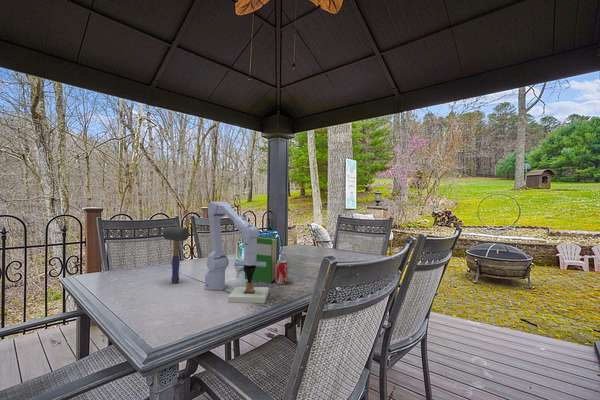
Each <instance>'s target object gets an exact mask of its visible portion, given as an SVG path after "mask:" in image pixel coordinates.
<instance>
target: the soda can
mask: <svg viewBox="0 0 600 400" xmlns="http://www.w3.org/2000/svg"><path fill="white" fill-rule="evenodd" d="M288 282H289V264H288V261H287V260H286V259H280V260H279V259H278V261H277V263H276V265H275V280H274V283H276V284H277V285H286V284H287V283H288Z"/></svg>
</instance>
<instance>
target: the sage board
mask: <svg viewBox="0 0 600 400" xmlns="http://www.w3.org/2000/svg"><path fill="white" fill-rule="evenodd" d="M269 290H270V288H269V287H265V286H264V287H262V286H261V287H260V286H259V287H257V286H254V294H246V286H235V288H234V289H233V290H232V292H231V293H230V294H229V295H228V300H227V302H228V303H229V304H230V303H232V304H233V303H234V304H235V303H237V304H241V303H243V304H265V303H266V301H267V297H268V295H269V293H270V291H269Z"/></svg>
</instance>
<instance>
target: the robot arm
mask: <svg viewBox="0 0 600 400" xmlns="http://www.w3.org/2000/svg"><path fill="white" fill-rule="evenodd" d="M207 215H208V216H207V218H208V225H209V233H210V235H209V236H210V246H211V252H210V253H208V255H207V256H206V257H207V261H206V268H207V270H206V271H205V274H204V288H203V289H204V290H215V291H224V290H225V288H226V287H227V286H228V284H227V283H226V270H227V268H228V266H229V264H230V262H229V257H228V254H227V252H225V251H224V250H223V240H222V231H221V230H222V229H221V220H222V218H224V217H226V216H227V217H228V218H229V219H230V220H231V221H232V222H233V226H234V227H235V228H236V229H237V230H238V231H239V232H240V233H241V237H242V242H243V246H244V247H243V260H239V261H236V260H235V261H234V262H233V267H243V271H244V274H245V273H246V276H247V279H246V280H247V281H248V283H251V282H252V281H253V280H252V277H253V273H254V271H255V269H256V266H258V267H266V262H260V261H256V253H257V238H258V237H259V236H260V229H259V227H258V226H256V225H252V224H251V223H250V222H249V221H248V220H247V219H246V217H245V216H239V214H238V213H237V212H236V211H235V210H234V208H232V204H231V203H230V202H229V201H227V200H226V201H210V202H209V204H208V205H207Z"/></svg>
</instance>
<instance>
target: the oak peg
mask: <svg viewBox="0 0 600 400" xmlns="http://www.w3.org/2000/svg"><path fill="white" fill-rule="evenodd" d="M254 283H255V281H253V280H252V282H251V283H248V280H247V281H246V282H245V287H246V294H254V287H255V284H254Z"/></svg>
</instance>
